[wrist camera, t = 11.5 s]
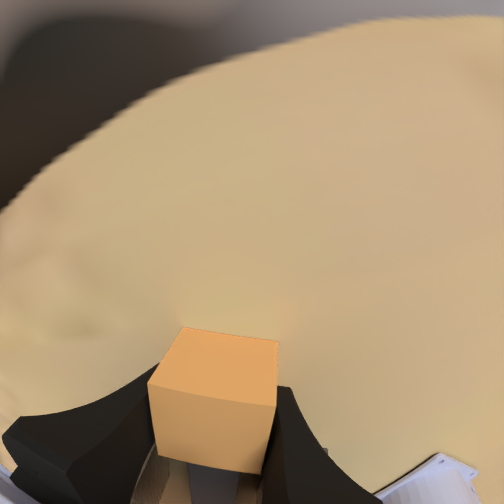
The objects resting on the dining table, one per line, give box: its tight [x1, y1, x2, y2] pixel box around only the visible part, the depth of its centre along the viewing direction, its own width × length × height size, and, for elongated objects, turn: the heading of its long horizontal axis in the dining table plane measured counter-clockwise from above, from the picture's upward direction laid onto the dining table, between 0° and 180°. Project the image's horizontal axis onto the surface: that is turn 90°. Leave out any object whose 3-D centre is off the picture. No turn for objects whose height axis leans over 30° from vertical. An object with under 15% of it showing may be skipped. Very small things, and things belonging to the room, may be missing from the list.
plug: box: [147, 327, 278, 504], centre depth 12 cm, size 16×4×4 cm, turn 174°
